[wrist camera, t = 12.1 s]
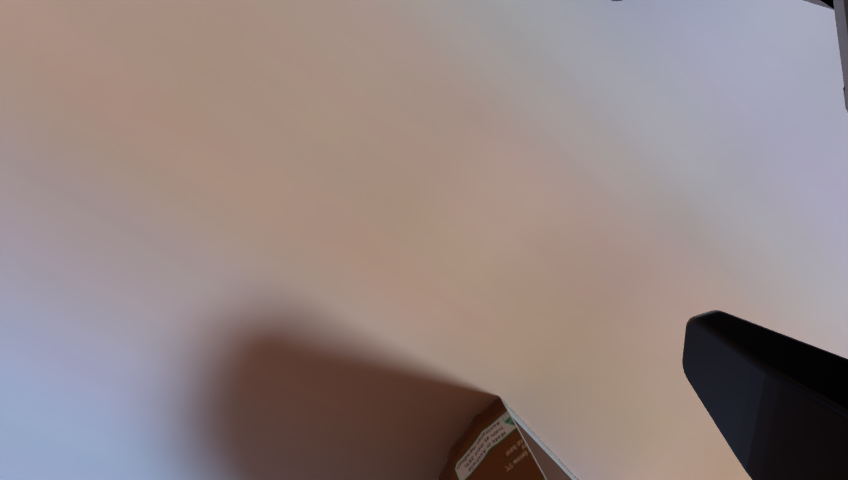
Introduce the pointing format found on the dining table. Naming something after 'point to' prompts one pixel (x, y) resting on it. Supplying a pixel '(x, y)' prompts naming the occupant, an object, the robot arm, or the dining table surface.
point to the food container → (501, 450)
